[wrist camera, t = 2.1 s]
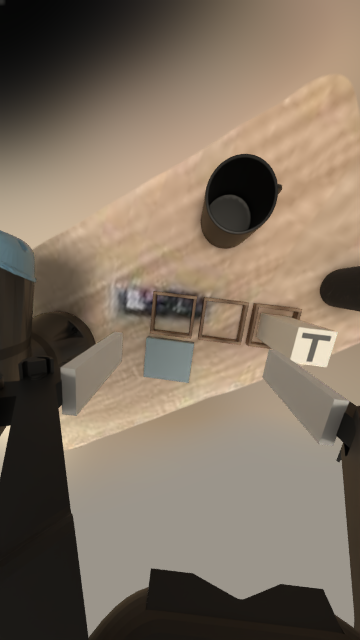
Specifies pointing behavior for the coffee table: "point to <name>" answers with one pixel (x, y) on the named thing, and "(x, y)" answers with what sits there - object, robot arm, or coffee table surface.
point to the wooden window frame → (241, 326)
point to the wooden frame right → (254, 316)
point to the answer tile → (168, 359)
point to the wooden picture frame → (170, 331)
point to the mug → (238, 200)
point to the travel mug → (342, 288)
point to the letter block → (297, 339)
